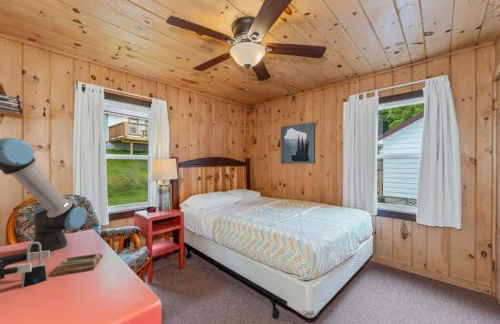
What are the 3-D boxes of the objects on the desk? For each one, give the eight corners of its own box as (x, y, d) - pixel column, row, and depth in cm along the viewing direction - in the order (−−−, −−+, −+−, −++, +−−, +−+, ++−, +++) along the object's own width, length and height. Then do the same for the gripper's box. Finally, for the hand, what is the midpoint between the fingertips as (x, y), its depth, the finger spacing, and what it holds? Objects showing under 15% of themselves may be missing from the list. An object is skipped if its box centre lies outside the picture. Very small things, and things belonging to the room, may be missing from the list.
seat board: (66, 262, 104) (66, 256, 104) (102, 256, 109) (102, 251, 109) (51, 276, 90) (51, 269, 90) (93, 269, 95) (93, 263, 95)
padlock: (45, 277, 89) (44, 238, 90) (47, 280, 87) (46, 240, 87) (21, 284, 84) (20, 243, 84) (22, 288, 81) (22, 245, 82)
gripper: (-11, 267, 90) (55, 258, 98) (-72, 301, 67) (21, 285, 74) (-11, 248, 90) (55, 240, 98) (-73, 275, 67) (21, 262, 74)
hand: (40, 260), depth 86 cm, fingers open, 13 cm apart
